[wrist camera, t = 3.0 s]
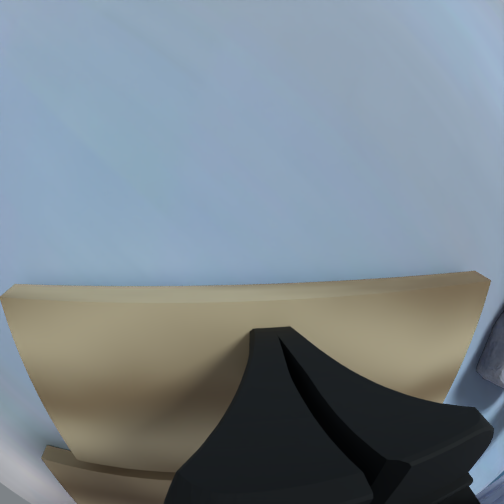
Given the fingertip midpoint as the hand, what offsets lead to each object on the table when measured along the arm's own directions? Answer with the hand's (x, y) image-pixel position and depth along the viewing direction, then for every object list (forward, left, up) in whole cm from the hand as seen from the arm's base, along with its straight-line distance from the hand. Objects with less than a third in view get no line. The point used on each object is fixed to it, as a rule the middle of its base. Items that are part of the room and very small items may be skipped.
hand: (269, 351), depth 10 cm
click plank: (-3, 0, -1) cm, 3 cm away
